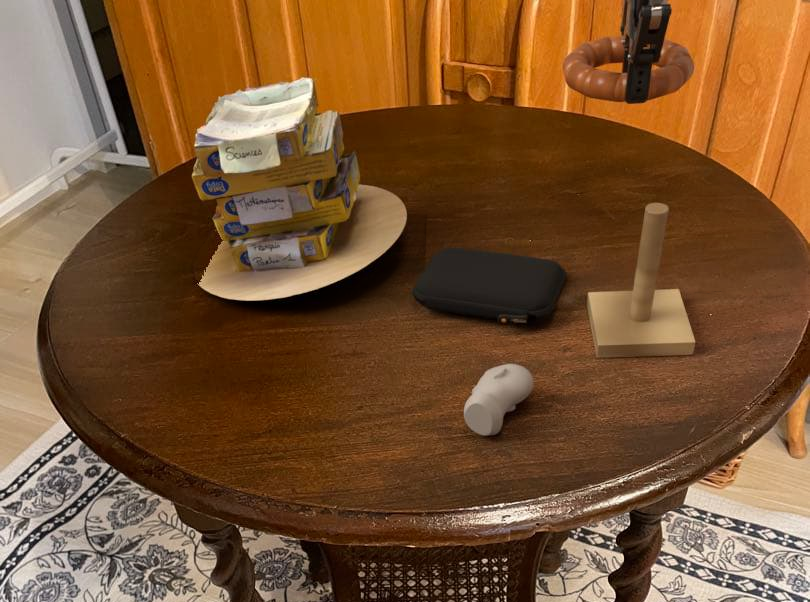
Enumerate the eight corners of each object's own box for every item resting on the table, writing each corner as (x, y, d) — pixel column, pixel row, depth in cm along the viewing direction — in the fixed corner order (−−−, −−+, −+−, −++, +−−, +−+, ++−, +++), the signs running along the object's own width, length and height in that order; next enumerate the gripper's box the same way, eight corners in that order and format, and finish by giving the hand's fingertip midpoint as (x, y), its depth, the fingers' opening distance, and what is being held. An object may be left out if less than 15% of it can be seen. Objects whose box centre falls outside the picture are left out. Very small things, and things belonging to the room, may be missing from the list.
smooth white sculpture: (499, 392, 81) (545, 396, 78) (451, 438, 77) (498, 444, 74) (488, 351, 79) (536, 353, 75) (438, 396, 75) (486, 401, 71)
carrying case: (403, 318, 88) (544, 340, 84) (401, 292, 86) (546, 313, 82) (437, 264, 95) (569, 282, 91) (436, 238, 93) (571, 256, 88)
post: (676, 301, 87) (699, 181, 78) (693, 355, 81) (720, 231, 72) (586, 304, 88) (599, 185, 79) (596, 358, 82) (611, 236, 73)
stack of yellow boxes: (154, 301, 94) (104, 146, 81) (245, 193, 109) (215, 49, 97) (369, 326, 88) (351, 164, 75) (433, 208, 103) (426, 58, 91)
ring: (678, 54, 95) (682, 27, 93) (701, 101, 87) (706, 73, 85) (558, 61, 97) (559, 36, 95) (568, 109, 88) (570, 82, 86)
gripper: (718, -96, 70) (683, 122, 83) (687, -135, 79) (660, 67, 92) (624, -89, 71) (603, 127, 83) (605, -128, 80) (588, 71, 93)
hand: (633, 94), depth 88 cm, fingers closed on ring, 2 cm apart
